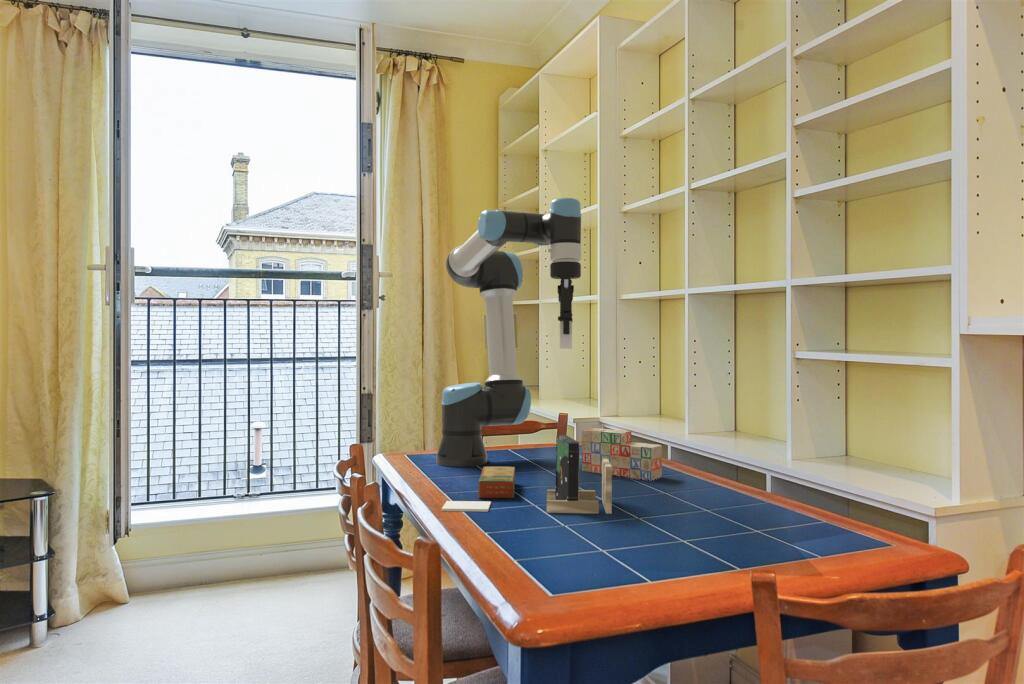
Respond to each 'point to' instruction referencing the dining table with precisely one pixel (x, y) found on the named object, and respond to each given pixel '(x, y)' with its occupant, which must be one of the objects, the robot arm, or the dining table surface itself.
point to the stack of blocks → (620, 454)
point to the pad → (467, 506)
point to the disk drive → (567, 468)
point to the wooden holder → (585, 496)
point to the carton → (497, 482)
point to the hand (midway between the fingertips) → (565, 348)
